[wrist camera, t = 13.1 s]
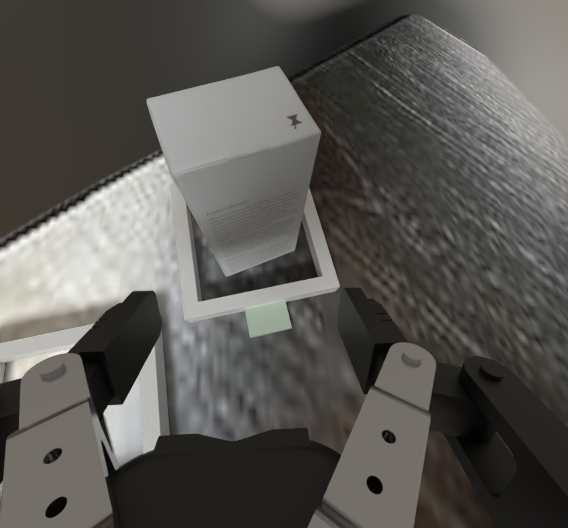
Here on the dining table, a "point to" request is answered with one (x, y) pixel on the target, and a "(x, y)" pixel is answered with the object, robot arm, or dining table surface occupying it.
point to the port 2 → (259, 303)
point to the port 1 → (150, 374)
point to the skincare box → (240, 162)
